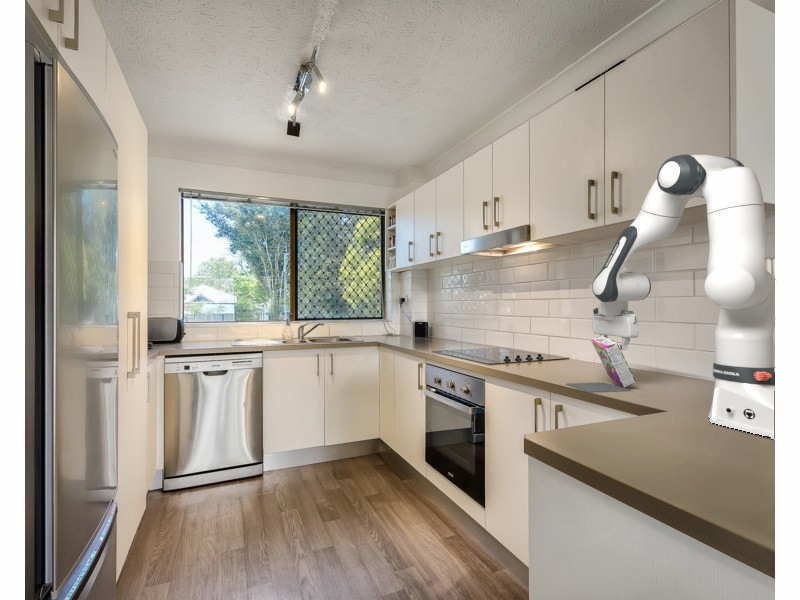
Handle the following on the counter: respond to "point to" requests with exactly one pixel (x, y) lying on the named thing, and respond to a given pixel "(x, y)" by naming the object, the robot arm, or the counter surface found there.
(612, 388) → the mat
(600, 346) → the candy bar box
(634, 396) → the counter surface
